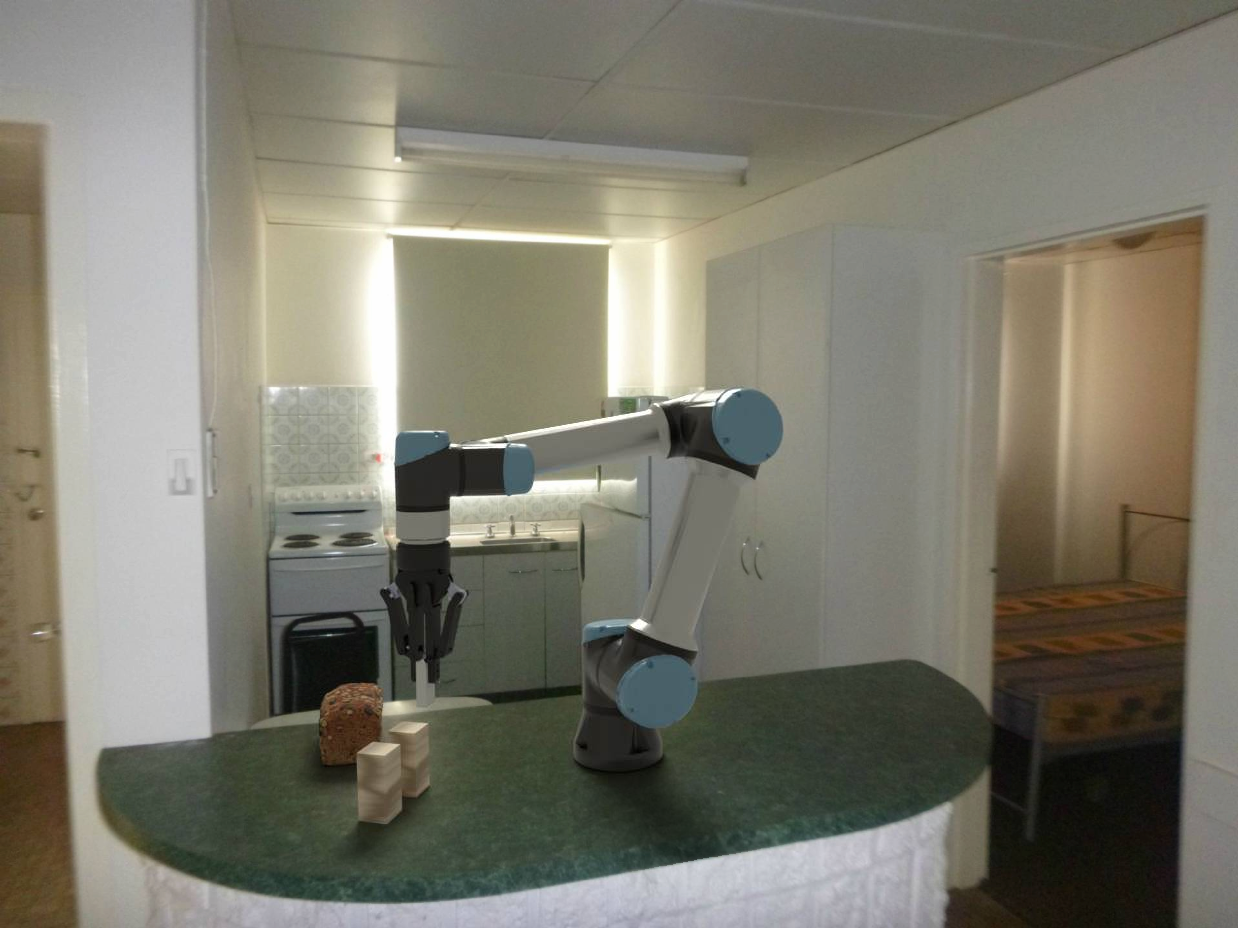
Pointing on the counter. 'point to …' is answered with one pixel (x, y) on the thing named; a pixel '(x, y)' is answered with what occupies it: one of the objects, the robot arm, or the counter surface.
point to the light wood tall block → (412, 756)
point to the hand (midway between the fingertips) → (425, 704)
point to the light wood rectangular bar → (379, 782)
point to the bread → (349, 722)
